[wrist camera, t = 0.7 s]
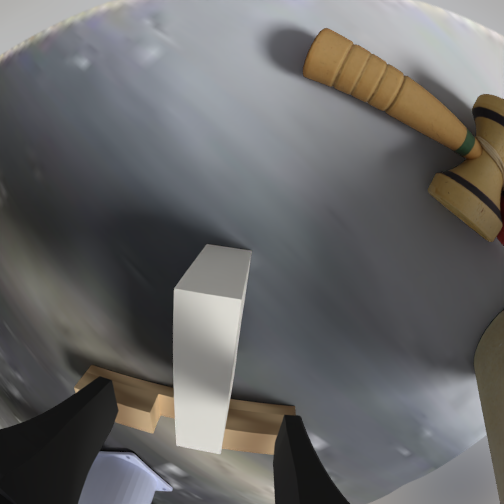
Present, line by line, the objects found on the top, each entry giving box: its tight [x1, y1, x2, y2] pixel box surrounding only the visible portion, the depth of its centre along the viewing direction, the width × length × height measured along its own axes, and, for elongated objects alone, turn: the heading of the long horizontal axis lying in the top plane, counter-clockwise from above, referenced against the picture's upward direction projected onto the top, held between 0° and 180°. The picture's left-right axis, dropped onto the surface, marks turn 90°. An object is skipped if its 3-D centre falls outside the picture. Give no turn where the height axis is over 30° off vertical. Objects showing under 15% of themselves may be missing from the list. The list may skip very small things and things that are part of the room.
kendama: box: [303, 28, 504, 246], centre depth 12 cm, size 8×6×18 cm
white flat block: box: [173, 244, 252, 454], centre depth 15 cm, size 2×10×6 cm, turn 172°
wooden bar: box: [74, 365, 296, 455], centre depth 19 cm, size 16×2×3 cm, turn 82°
